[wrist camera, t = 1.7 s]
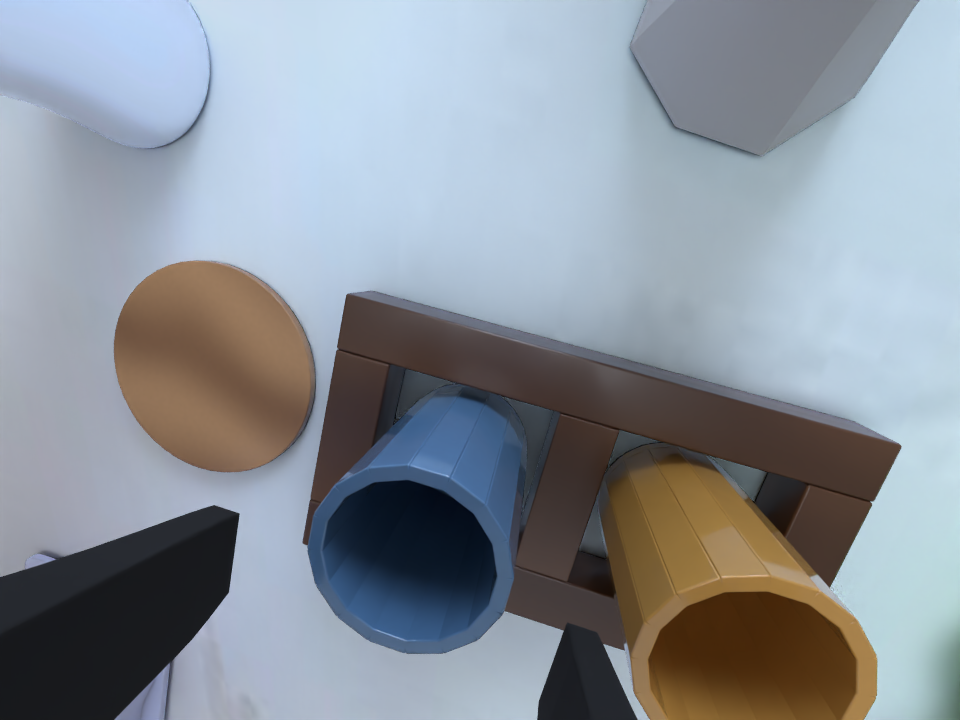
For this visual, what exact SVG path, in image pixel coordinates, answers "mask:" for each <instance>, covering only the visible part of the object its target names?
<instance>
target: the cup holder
mask: <svg viewBox="0 0 960 720" xmlns="http://www.w3.org/2000/svg"><path fill="white" fill-rule="evenodd" d="M337 348H338V350H337V351H336V356H335V362H334V368H333V373H332V379H331V384H330V390H329V396H328V401H327V407H326V413H325V418H324V424H323V430H322V435H321V441H320V446H319V452H318V458H317V463H316V469H315V475H314V480H313V486H312V492H311V500H310V503H309V509H308V514H307V520H306V526H305V531H304V537H303V544H305V545H308V542H309V536H310V531H311V525H312V520H313V515H314V513H315V511H316V509H317V508H318V507H319V505H320V504H321V503H322V501H323V500H324V498H325V497H326V496H327V494H328V493H329V492H330V490H331V489H332V487H333V486H334V485H335V484H336V483H337V482H338V481H339V480H340V479H341V478H342V477H343V476H344V475H345V474H346V473H347V472H348V471H349V470H350V469H351V468H352V467H353V466H354V465H355V464H356V463H357V462H358V461H359V460H360V459H361V458H362V457H363V456H364V455H365V454H366V453H367V452H368V451H369V450H370V449H371V448H372V447H373V446H374V445H375V444H376V443H377V442H378V441H379V440H380V439H381V438H382V437H383V436H384V435H385V434H386V433H387V432H388V431H389V430H390V429H391V428H392V427H393V422H394V418H395V413H396V408H397V404H398V399H399V395H400V390H401V385H402V381H403V376H404V371H405V368H406V369H409V370H413V371H416V372H420V373H423V374H427V375H430V376H434V377H437V378H441V379H444V380H448V381H451V382H455V383H458V384H462V385H465V386H469V387H472V388H476V389H479V390H483V391H486V392H490V393H493V394H497V395H500V396H504V397H507V398H511V399H514V400H518V401H521V402H525V403H528V404H532V405H535V406H539V407H542V408H546V409H549V410H553V411H554V413H553V416H552V419H551V423H550V426H549V429H548V432H547V436H546V439H545V442H544V445H543V449H542V452H541V455H540V459H539V462H538V465H537V468H536V472H535V475H534V478H533V481H532V485H531V488H530V491H529V495H528V498H527V501H526V504H525V508H524V511H523V514H522V517H521V521H520V529H519V538H518V547H517V556H516V565H515V575H514V582H513V585H512V588H511V591H510V594H509V597H508V601H507V604H506V607H505V610H504V611H507V612H510V613H513V614H516V615H519V616H522V617H525V618H528V619H531V620H534V621H537V622H540V623H543V624H546V625H549V626H552V627H555V628H558V629H561V630H564V629H565V627H566V624H567V622H568V623H571V624H574V625H577V626H580V627H583V628H586V629H589V630H592V631H595V632H597V633H598V635H599V637H600V639H601V641H602V643H603V644H606V645H609V646H612V647H615V648H618V649H621V650H624V651H625V648H624V643H623V638H622V633H621V628H620V623H619V618H618V613H617V609H616V604H615V599H614V594H613V589H612V584H611V579H610V574H609V569H608V564H607V560H605V559H602V558H599V557H596V556H593V555H589V554H586V553H583V552H580V551H578V549H579V546H580V543H581V541H582V538H583V535H584V532H585V529H586V526H587V523H588V520H589V517H590V514H591V512H592V509H593V506H594V503H595V500H596V497H597V494H598V491H599V488H600V486H601V483H602V480H603V477H604V474H605V471H606V468H607V465H608V462H609V460H610V457H611V454H612V451H613V448H614V445H615V442H616V439H617V436H618V434H619V430H623V431H626V432H630V433H633V434H637V435H640V436H644V437H647V438H651V439H654V440H658V441H661V442H665V443H668V444H672V445H675V446H679V447H682V448H686V449H689V450H692V451H696V452H699V453H703V454H706V455H710V456H713V457H717V458H720V459H724V460H727V461H731V462H734V463H738V464H741V465H745V466H748V467H752V468H755V469H759V470H762V471H766V472H768V474H767V476H766V479H765V481H764V483H763V485H762V488H761V490H760V492H759V495H758V497H757V499H756V501H755V504H756V506H757V507H758V508H759V509H760V510H761V511H762V512H763V513H764V515H765V516H766V517H767V518H768V519H769V520H770V521H771V523H772V524H773V525H774V526H775V527H776V528H777V529H778V530H779V532H780V533H781V534H782V535H783V536H784V537H785V538H786V539H787V541H788V542H789V543H790V544H791V545H792V546H793V547H794V548H795V550H796V551H797V552H798V553H799V554H800V555H801V556H802V558H803V559H804V560H805V561H806V562H807V563H808V564H809V565H810V567H811V568H812V569H813V570H814V571H815V572H816V573H817V574H818V576H819V577H820V578H821V579H822V580H823V581H824V582H825V583H826V585H827V586H828V587H829V588H830V587H831V585H832V583H833V581H834V579H835V577H836V575H837V573H838V571H839V569H840V567H841V565H842V563H843V561H844V559H845V557H846V555H847V553H848V551H849V549H850V547H851V545H852V543H853V542H854V540H855V538H856V536H857V534H858V532H859V530H860V528H861V526H862V524H863V522H864V520H865V518H866V516H867V514H868V512H869V510H870V508H871V506H872V503H871V502H870V501H874V500H875V498H876V496H877V495H878V493H879V491H880V489H881V487H882V485H883V483H884V481H885V479H886V477H887V475H888V473H889V471H890V469H891V467H892V465H893V463H894V461H895V459H896V457H897V455H898V453H899V451H900V449H901V445H900V444H899V443H897V442H895V441H893V440H891V439H889V438H887V437H884V436H882V435H880V434H878V433H876V432H874V431H872V430H870V429H868V428H866V427H864V426H862V425H860V424H858V423H856V422H854V421H850V420H847V419H843V418H839V417H836V416H832V415H828V414H825V413H821V412H817V411H814V410H810V409H806V408H803V407H799V406H795V405H791V404H788V403H784V402H780V401H777V400H773V399H769V398H766V397H762V396H758V395H755V394H751V393H747V392H744V391H740V390H736V389H732V388H729V387H725V386H721V385H718V384H714V383H710V382H707V381H703V380H699V379H696V378H692V377H688V376H684V375H681V374H677V373H673V372H670V371H666V370H662V369H659V368H655V367H651V366H648V365H644V364H640V363H637V362H633V361H629V360H625V359H622V358H618V357H614V356H611V355H607V354H603V353H600V352H596V351H592V350H589V349H585V348H581V347H578V346H574V345H570V344H566V343H563V342H559V341H555V340H552V339H548V338H544V337H541V336H537V335H533V334H530V333H526V332H522V331H519V330H515V329H511V328H507V327H504V326H500V325H496V324H493V323H489V322H485V321H482V320H478V319H474V318H471V317H467V316H463V315H460V314H456V313H452V312H448V311H445V310H441V309H437V308H434V307H430V306H426V305H423V304H419V303H415V302H412V301H408V300H404V299H401V298H397V297H393V296H389V295H386V294H382V293H378V292H375V291H366V292H358V293H350V294H347V295H346V300H345V306H344V311H343V317H342V322H341V328H340V334H339V339H338V345H337Z"/></svg>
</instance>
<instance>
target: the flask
mask: <svg viewBox="0 0 960 720" xmlns="http://www.w3.org/2000/svg"><path fill="white" fill-rule="evenodd" d="M918 2H919V0H647V3H646V5H645V8H644V10H643V13H642V16H641V18H640V21H639V23H638V26H637V29H636V31H635V34H634V36H633V39H632V41H631V44H630V49H631V50H632V52H633V54H634V56H635V57H636V59H637V61H638V63H639V64H640V66H641V68H642V70H643V71H644V73H645V75H646V77H647V78H648V80H649V82H650V84H651V85H652V87H653V89H654V91H655V92H656V94H657V96H658V98H659V99H660V101H661V103H662V105H663V106H664V108H665V110H666V112H667V113H668V115H669V117H670V119H671V120H672V122H673V124H674V126H675V127H677V128H680V129H683V130H686V131H689V132H692V133H695V134H698V135H701V136H704V137H707V138H710V139H713V140H716V141H719V142H722V143H725V144H728V145H731V146H734V147H736V148H739V149H742V150H745V151H748V152H751V153H754V154H757V155H760V156H763V155H765V154H766V153H768V152H770V151H771V150H773V149H774V148H776V147H777V146H779V145H781V144H782V143H784V142H785V141H787V140H788V139H790V138H792V137H793V136H795V135H796V134H798V133H799V132H801V131H803V130H804V129H806V128H807V127H809V126H810V125H812V124H814V123H815V122H817V121H818V120H820V119H822V118H823V117H825V116H826V115H828V114H829V113H831V112H833V111H834V110H836V109H837V108H839V107H840V106H842V105H844V104H845V103H847V102H848V101H850V100H851V99H853V98H855V96H856V95H857V93H858V92H859V91H860V89H861V88H862V86H863V85H864V84H865V82H866V81H867V79H868V78H869V76H870V75H871V73H872V72H873V70H874V69H875V67H876V66H877V64H878V63H879V61H880V59H881V58H882V56H883V55H884V53H885V52H886V50H887V49H888V47H889V46H890V44H891V42H892V41H893V39H894V38H895V36H896V35H897V33H898V32H899V30H900V29H901V27H902V25H903V24H904V22H905V21H906V19H907V18H908V16H909V15H910V13H911V12H912V10H913V9H914V7H915V6H916V5H917V3H918Z"/></svg>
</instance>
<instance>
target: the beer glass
mask: <svg viewBox="0 0 960 720" xmlns="http://www.w3.org/2000/svg"><path fill="white" fill-rule="evenodd" d="M209 78H210V59H209V51H208V45H207V41H206V37H205V34H204V31H203V28H202V25H201V23H200V21H199V19H198V17H197V15H196V13H195V11H194V9H193V8H192V6H191V5H190V3H189V2H188V1H187V0H0V95H1V96H5V97H8V98H12V99H16V100H20V101H23V102H27V103H30V104H33V105H35V106H38V107H41V108H44V109H47V110H49V111H52V112H54V113H56V114H59V115H61V116H63V117H65V118H68V119H70V120H72V121H74V122H76V123H78V124H80V125H82V126H84V127H86V128H87V129H89V130H91V131H93V132H95V133H97V134H99V135H101V136H103V137H105V138H107V139H110V140H112V141H114V142H116V143H119V144H122V145H125V146H129V147H134V148H156V147H161V146H164V145H167V144H169V143H171V142H173V141H175V140H176V139H178V138H179V137H181V136H182V135H183V134H184V133H185V132H186V131H187V130H188V129H189V128H190V127H191V126H192V124H193V123H194V122H195V120H196V119H197V117H198V115H199V113H200V111H201V109H202V107H203V104H204V102H205V99H206V95H207V91H208V86H209Z"/></svg>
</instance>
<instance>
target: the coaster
mask: <svg viewBox="0 0 960 720" xmlns="http://www.w3.org/2000/svg"><path fill="white" fill-rule="evenodd" d="M114 360H115V368H116V373H117V377H118V382H119V385H120V388H121V390H122V393H123V396H124V398H125V400H126V402H127V404H128V406H129V408H130V410H131V412H132V413H133V415H134V417H135V418H136V420H137V421H138V422H139V424H140V425H141V426H142V428H143V429H144V430H145V431H146V433H147V434H148V435H149V436H150V437H151V438H152V439H153V440H154V441H155V442H156V443H158V444H159V445H160V446H161V447H162V448H163V449H165V450H166V451H168V452H169V453H170V454H172V455H173V456H175V457H177V458H178V459H180V460H182V461H184V462H186V463H188V464H191V465H193V466H196V467H198V468H202V469H206V470H210V471H217V472H240V471H247V470H251V469H254V468H257V467H260V466H262V465H264V464H266V463H269V462H270V461H272V460H273V459H275V458H276V457H278V456H279V455H281V454H282V453H284V452H285V451H286V450H287V449H288V448H289V447H290V446H291V445H292V444H293V443H294V442H295V440H296V439H297V438H298V437H299V435H300V434H301V432H302V430H303V429H304V427H305V425H306V423H307V420H308V418H309V415H310V413H311V409H312V405H313V401H314V393H315V369H314V363H313V357H312V353H311V350H310V346H309V343H308V340H307V338H306V336H305V333H304V331H303V329H302V327H301V325H300V323H299V321H298V320H297V318H296V316H295V315H294V313H293V312H292V311H291V309H290V308H289V306H288V305H287V304H286V303H285V302H284V301H283V299H282V298H281V297H280V296H279V295H278V294H277V293H276V292H275V291H274V290H272V289H271V288H270V287H269V286H268V285H267V284H265V283H264V282H263V281H261V280H260V279H258V278H257V277H255V276H254V275H252V274H250V273H248V272H246V271H244V270H242V269H239V268H237V267H234V266H231V265H228V264H224V263H219V262H213V261H186V262H180V263H176V264H172V265H168V266H166V267H164V268H162V269H159V270H157V271H156V272H154V273H153V274H151V275H149V276H148V277H146V278H145V279H144V280H143V281H142V282H141V283H140V284H139V285H138V286H137V287H136V288H135V289H134V291H133V292H132V293H131V294H130V296H129V297H128V299H127V301H126V302H125V304H124V306H123V308H122V311H121V313H120V316H119V318H118V322H117V326H116V330H115V339H114Z"/></svg>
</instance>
